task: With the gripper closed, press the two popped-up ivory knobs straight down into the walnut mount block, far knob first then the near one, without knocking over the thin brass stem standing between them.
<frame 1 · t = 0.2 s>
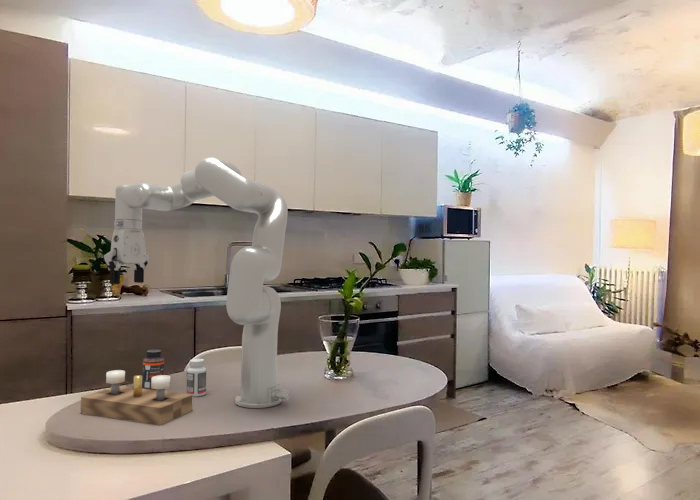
hand: (127, 283, 152), 31 cm above the table, fingers open, 9 cm apart
knob far: (115, 384, 131), point 6 cm above the table, slide at 0.0 cm
pill bottle: (196, 395, 145), on the table
supplement bottle: (152, 389, 150), on the table
brass stem: (137, 396, 128), point 4 cm above the table, touching mount
mount: (137, 411, 128), on the table
knob near: (160, 389, 126), point 6 cm above the table, slide at 0.0 cm
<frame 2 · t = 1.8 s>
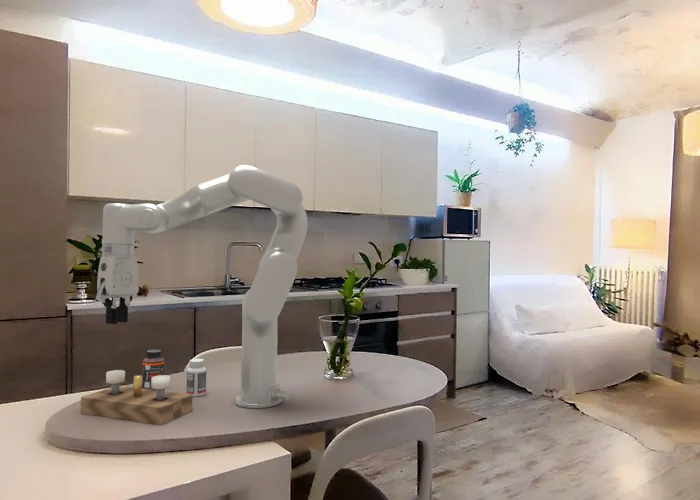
hand: (116, 322, 131), 22 cm above the table, fingers closed
nothing on the table moved.
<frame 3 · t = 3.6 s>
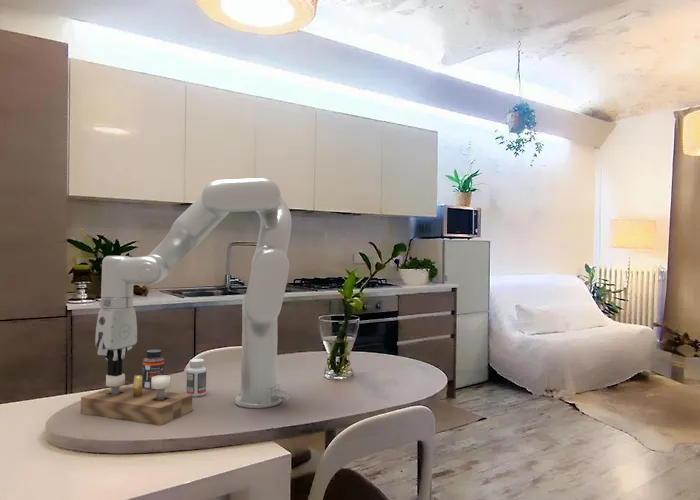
hand: (114, 375, 130), 9 cm above the table, fingers closed
knob far: (115, 387, 131), point 6 cm above the table, slide at 0.8 cm, touching gripper
everything else where it was.
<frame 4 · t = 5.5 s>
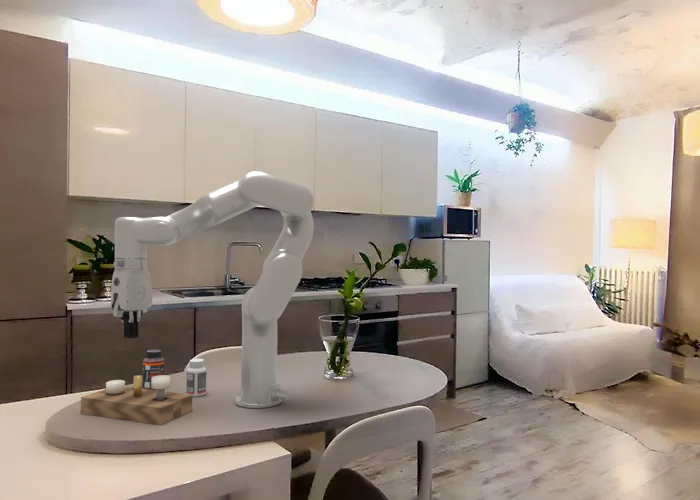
hand: (131, 337, 129), 19 cm above the table, fingers closed
knob far: (115, 394, 130), point 4 cm above the table, slide at 2.6 cm
everything else where it was.
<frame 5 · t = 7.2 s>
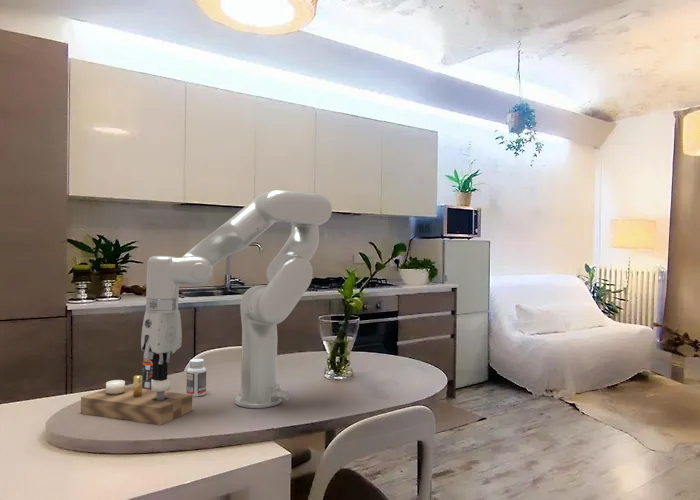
hand: (159, 379, 126), 9 cm above the table, fingers closed
knob near: (160, 392, 126), point 6 cm above the table, slide at 0.6 cm, touching gripper
everything else where it was.
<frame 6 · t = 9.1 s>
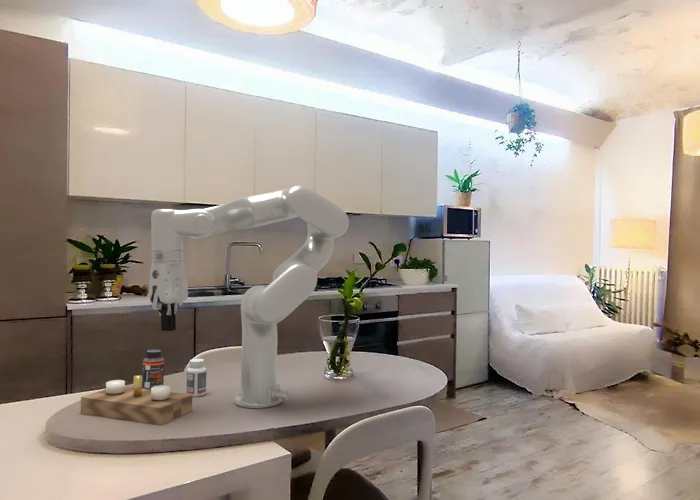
hand: (168, 330, 129), 21 cm above the table, fingers closed
knob near: (160, 400, 126), point 4 cm above the table, slide at 2.6 cm
everything else where it was.
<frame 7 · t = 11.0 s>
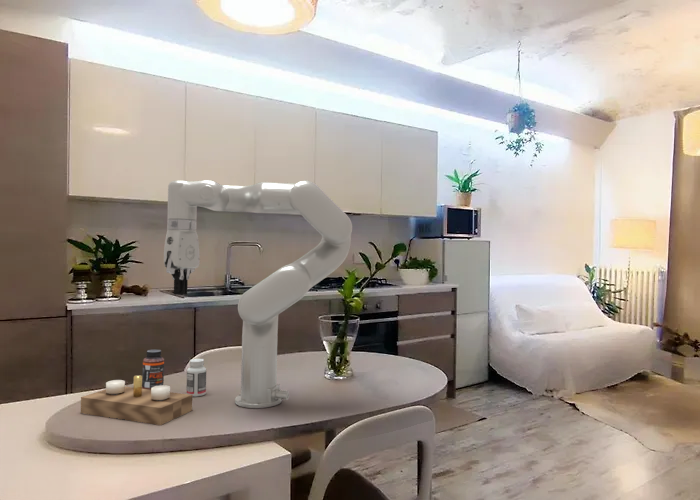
hand: (180, 294, 138), 29 cm above the table, fingers closed
nothing on the table moved.
at the end: knob far slide at 2.6 cm; knob near slide at 2.6 cm; brass stem tilted 0° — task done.
